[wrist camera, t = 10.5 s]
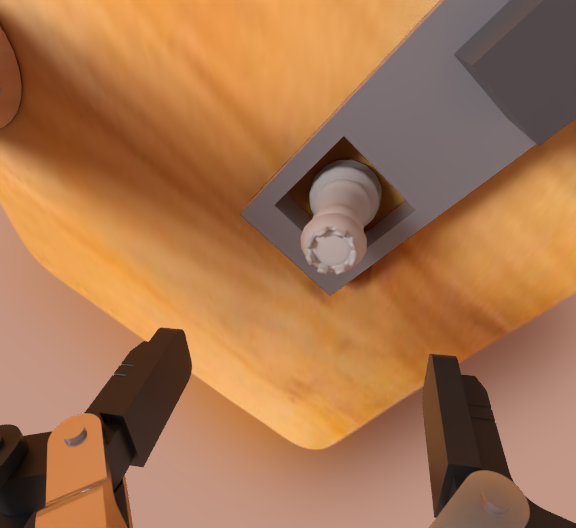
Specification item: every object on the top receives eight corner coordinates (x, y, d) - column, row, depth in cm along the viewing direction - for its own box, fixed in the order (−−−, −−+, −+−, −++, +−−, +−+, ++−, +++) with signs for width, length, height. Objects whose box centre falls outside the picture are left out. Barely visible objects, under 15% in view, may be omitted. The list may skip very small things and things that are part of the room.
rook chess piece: (298, 200, 27) (268, 261, 20) (335, 142, 24) (314, 191, 18) (355, 235, 27) (344, 307, 21) (397, 182, 25) (399, 244, 18)
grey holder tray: (334, 275, 29) (319, 346, 23) (251, 199, 27) (210, 253, 21) (688, 4, 18) (848, -2, 12) (586, -155, 16) (709, -261, 10)
